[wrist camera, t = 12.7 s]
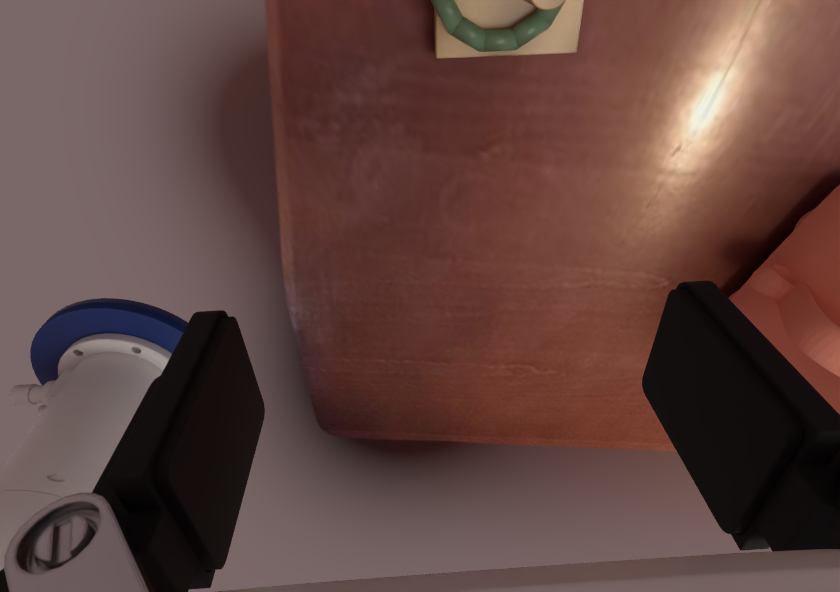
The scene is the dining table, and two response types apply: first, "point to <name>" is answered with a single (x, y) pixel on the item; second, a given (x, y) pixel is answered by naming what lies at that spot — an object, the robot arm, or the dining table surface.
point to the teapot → (802, 298)
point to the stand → (504, 9)
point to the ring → (496, 37)
